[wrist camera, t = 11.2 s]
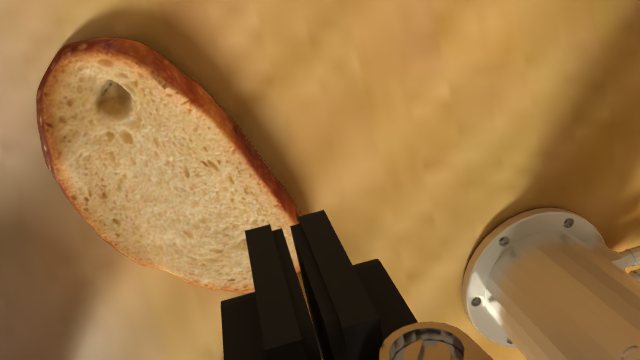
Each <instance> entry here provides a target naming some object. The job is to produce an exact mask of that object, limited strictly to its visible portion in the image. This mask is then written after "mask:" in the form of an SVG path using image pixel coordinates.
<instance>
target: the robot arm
mask: <svg viewBox="0 0 640 360" xmlns="http://www.w3.org/2000/svg"><path fill="white" fill-rule="evenodd" d="M298 219H299V224H296V225H292V226H290V228H291V233H292V237H293V242H294V246H295V250H296V254H297V259H298V263H299V267H300V271H301V276H302V280H303V284H304V288H305V293H306V297H307V301H308V305H309V310H310V314H311V318H312V321H311V318H310V315H309V311H308V308H307V305H306V302H305V299H304V296H303V293H302V289H301V286H300V283H299V280H298V277H297V274H296V270H295V267H294V264H293V261H292V258H291V255H290V251H289V248H288V245H287V242H286V239H285V236H284V233H283V229H282V228H280V229H277V230H273V231H272V229H271V225H270V224H268V225H265V226H261V227H257V228H253V229H249V230H245V236H246V242H247V248H248V254H249V260H250V266H251V271H252V277H253V283H254V289H255V292H253V293H249V294H246V295H242V296H238V297H235V298H231V299H227V300H224V301H221V317H222V334H223V350H224V360H322V359H323V360H493V359H492V358H491V357H490V356H489V355H488V354H487V353H486V352H485V351H484V350H483V349H482V348H481V347H480V346H479V345H478V344H477V343H476V342H474V341H473V340H472V339H471V338H470V337H469V336H468V335H467V334H466V333H464V332H463V331H461V330H460V329H458V328H457V327H454V326H451V325H448V324H445V323H438V322H420V323H418V322H417V320H416V319H415V317H414V315H413V314H412V312H411V310H410V309H409V307H408V306H407V304H406V302H405V301H404V299H403V298H402V296H401V294H400V293H399V291H398V289H397V288H396V286H395V285H394V283H393V281H392V280H391V278H390V277H389V275H388V273H387V272H386V270H385V268H384V267H383V265H382V264H381V262H380V261H379V260H378V259H374V260H370V261H366V262H363V263H359V264H356V265H352V264H351V262H350V260H349V258H348V256H347V254H346V252H345V250H344V248H343V246H342V244H341V242H340V240H339V238H338V237H337V235H336V233H335V231H334V229H333V227H332V225H331V223H330V221H329V219H328V217H327V215H326V213H325V211H324V210H322V211H318V212H315V213H311V214H307V215H303V216H299V217H298ZM639 264H640V246H637V247H634V248H630V249H627V250H625V251H623V252H619V253H618V252H616V251H612V250H611V249H609V248H608V247H606V245H605V242H604V240H603V237H602V236H601V234H600V233H599V231H598V230H597V229H596V227H594V226H593V225H592V224H591V223H590V222H588V221H587V220H586V219H584V218H583V217H581V216H579V215H578V214H576V213H574V212H571V211H568V210H565V209H559V208H540V209H534V210H530V211H527V212H523V213H521V214H519V215H516V216H514V217H512V218H510V219H508V220H507V221H505V222H504V223H502V224H501V225H499V226H498V227H496V228H495V229H494V230H493V231H492V232H491V233H490V234H489V235H488V236H487V237H486V238H485V239H484V240H483V241H482V242H481V244H480V245H479V246H478V248H477V249H476V250H475V252H474V254H473V256H472V257H471V259H470V261H469V263H468V266H467V269H466V271H465V274H464V279H463V286H462V298H463V304H464V308H465V311H466V314H467V316H468V317H469V319H470V321H471V323H472V324H473V325H474V326H475V327H476V329H477V330H478V331H479V333H481V334H482V335H483V336H484V337H486V338H487V339H488V340H490V341H492V342H494V343H496V344H498V345H502V346H506V347H514V348H518V349H519V351H520V352H521V353H522V354H523V355H524V357H525V358H526V359H527V360H640V269H637V270H633V271H631V272H630V273H626V272H625V268H626V267H629V266H635V265H639ZM312 322H313V324H312ZM320 353H321V354H320ZM321 356H322V358H321Z"/></svg>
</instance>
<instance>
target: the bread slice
mask: <svg viewBox="0 0 640 360" xmlns="http://www.w3.org/2000/svg"><path fill="white" fill-rule="evenodd" d="M36 105H37V122H38V129H39V134H40V139H41V145H42V150H43V154H44V158H45V161H46V164H47V166H48V168H49V170H50V172H51V174H52V175H53V177H54V178H55V179H56V181H57V182H58V184H59V185H60V187H61V189H62V191H63V192H64V194H65V195H66V197H67V199H68V200H69V202H70V203H71V204H72V206H73V207H74V208H75V209H76V210H77V211H78V212H79V213H80V215H81V216H82V217H83V218H84V219H85V220H86V221H87V222H88V223H89V224H90V225H91V226H92V227H93V229H94V230H95V231H96V232H97V234H98V235H99V236H100V237H101V238H102V239H104V240H105V241H106V242H108V243H109V244H111V245H112V246H113V247H114V248H115V249H117V250H118V251H119V252H120V253H122V254H123V255H125V256H127V257H129V258H130V259H131V260H132V261H134V262H136V263H138V264H140V265H142V266H145V267H151V268H158V269H162V270H165V271H167V272H170V273H172V274H174V275H176V276H178V277H180V278H181V279H183V280H184V281H186V282H187V283H189V284H192V285H195V286H198V287H202V288H207V289H211V290H216V291H231V292H242V293H250V292H255V289H254V283H253V277H252V271H251V266H250V260H249V254H248V248H247V242H246V236H245V230H249V229H253V228H257V227H261V226H265V225H268V224H270V225H271V229H272V231H273V230H277V229H280V228H282V229H283V233H284V236H285V239H286V242H287V245H288V248H289V251H290V255H291V258H292V261H293V264H294V267H295V270H296V274H299V273H300V272H301V271H300V267H299V263H298V259H297V254H296V250H295V246H294V242H293V237H292V233H291V228H290V226H292V225H296V224H299V219H298V217H299V216H302V215H301V213H300V212H299V210H298V208H297V206H296V205H295V203H294V202H293V200H292V199H291V198H290V196H289V195H288V194H287V192H286V191H285V189H284V188H283V186H282V185H281V184H280V183H279V182H278V181H277V179H276V178H275V177H274V176H273V175H272V173H271V172H270V170H269V169H268V168H267V167H266V165H265V164H264V163H263V161H262V160H261V158H260V157H259V156H258V155H257V153H256V152H255V150H254V149H253V148H252V146H251V145H250V144H249V142H248V141H247V140H246V138H245V137H244V135H243V134H242V133H241V131H240V130H239V129H238V128H237V126H236V125H235V124H234V123H233V122H232V120H231V119H230V118H229V117H228V116H227V115H226V113H225V112H224V111H223V110H222V109H221V108H220V107H219V106H218V105H217V103H216V102H215V101H214V100H213V98H212V97H211V96H210V95H209V94H208V93H207V92H206V91H205V90H204V89H203V88H202V87H201V86H200V85H199V84H198V83H197V82H195V81H193V80H191V79H189V78H188V77H187V76H185V75H184V74H183V73H182V72H181V71H180V70H178V69H177V68H176V67H175V66H174V65H173V64H172V63H170V62H169V61H168V60H166V59H165V58H164V57H163V56H161V55H160V54H158V53H157V52H156V51H154V50H153V49H151V48H149V47H148V46H146V45H144V44H142V43H140V42H137V41H132V40H128V39H123V38H112V37H99V38H94V39H90V40H85V41H81V42H76V43H71V44H68V45H66V46H65V47H63V48H62V49H61V50H60V51H59V52H58V53H57V55H56V56H55V57H54V59H53V61H52V63H51V64H50V66H49V68H48V70H47V71H46V73H45V75H44V77H43V79H42V81H41V83H40V85H39V88H38V91H37V98H36Z"/></svg>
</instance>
